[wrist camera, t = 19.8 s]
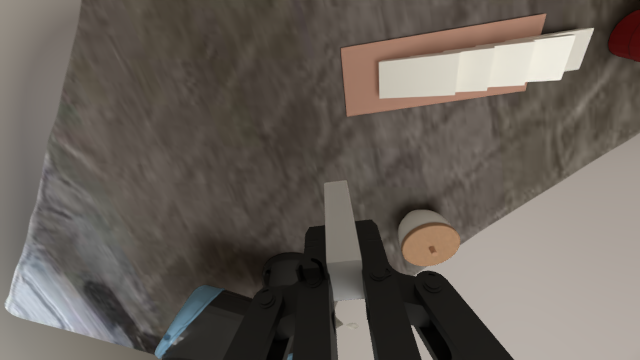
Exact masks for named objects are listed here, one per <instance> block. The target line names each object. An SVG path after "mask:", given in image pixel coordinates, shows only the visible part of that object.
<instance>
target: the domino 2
mask: <svg viewBox="0 0 640 360" xmlns="http://www.w3.org/2000/svg"><path fill="white" fill-rule="evenodd" d="M458 51H461V54H460V62H459V69H458V76H457V84H456V91H455V92H472V91H487V88H488V83H489V78H490V73H491V68H492V63H493V58H494V53H495V47H494V46H492V47H484V48H475V49H467V50H458ZM458 51H450V52H458ZM441 53H449V52H441ZM441 53H433V54H441ZM424 55H432V54H424ZM416 56H423V55H416ZM410 57H415V56H410Z"/></svg>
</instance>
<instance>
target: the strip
mask: <svg viewBox="0 0 640 360" xmlns="http://www.w3.org/2000/svg"><path fill="white" fill-rule="evenodd" d="M545 17H546V14H540V15H534V16H528V17H522V18H516V19H510V20H505V21H499V22H493V23H487V24H481V25H475V26H469V27H463V28H457V29H451V30H445V31H439V32H433V33H427V34H421V35H416V36H410V37H404V38H398V39H392V40H386V41H380V42H374V43H368V44H362V45H356V46H350V47H344V48H341V58H342V69H343V80H344V91H345V102H346V113H347V116H354V115H361V114H368V113H375V112H382V111H388V110H395V109H402V108H409V107H416V106H423V105H429V104H436V103H443V102H450V101H457V100H464V99H470V98H477V97H484V96H491V95H498V94H505V93H511V92H518V91H525V89H526V86H527V82H525V85H522V86H503V87H488V88H487V91H472V92H455V95H449V96H427V97H404V98H382V99H379V62H380V61H382V60H389V59H398V58H406V57H410V56H416V55H424V54H433V53H441V52H443V51H446V50H454V49H462V48H471V47H475V46H476V45H484V44H492V43H501V42H505V41H507V40H513V39H519V38H525V37H531V36H537V35H541V32H542V28H543V24H544V21H545Z"/></svg>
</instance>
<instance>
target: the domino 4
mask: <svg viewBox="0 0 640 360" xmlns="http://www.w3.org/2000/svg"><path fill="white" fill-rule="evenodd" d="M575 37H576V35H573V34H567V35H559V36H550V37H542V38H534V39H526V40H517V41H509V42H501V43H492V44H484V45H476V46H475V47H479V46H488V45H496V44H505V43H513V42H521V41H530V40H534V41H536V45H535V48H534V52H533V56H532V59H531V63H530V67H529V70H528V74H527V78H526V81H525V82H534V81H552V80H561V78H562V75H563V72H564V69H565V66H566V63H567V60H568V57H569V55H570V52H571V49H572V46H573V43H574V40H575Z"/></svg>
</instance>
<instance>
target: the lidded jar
mask: <svg viewBox="0 0 640 360" xmlns="http://www.w3.org/2000/svg"><path fill="white" fill-rule="evenodd" d="M398 240H399V244H400V247H401V251H402V254H403V256H404V258H405V259H406V260H407V261H408V262H410V263H412V264H415V265H418V266H431V265H436V264H439V263H442V262H444V261H446V260H448V259H449V258H450V257H452V256H453V255H454V254H455V253H456V251H457V250H458V248H459V245H460V237H459V234H458V233H457V232H456V230H455V229H454V228H453V227H452V226H451V224H450V223H449V222H448V221H447V220H446V219H445V218H444V217H442V216H441V215H440V214H438V213H436V212H434V211H430V210H414V211H411V212H409V213H408V214H407V215H406V216H405V217H404V218H403V219H402V221H401V223H400V225H399V228H398Z"/></svg>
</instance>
